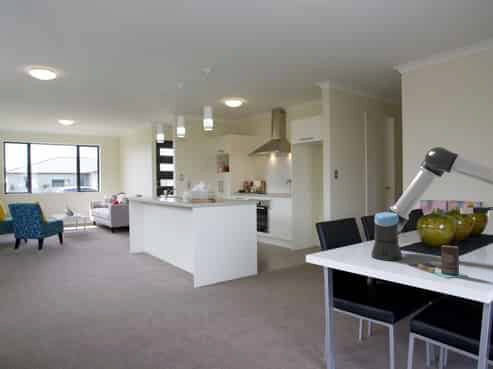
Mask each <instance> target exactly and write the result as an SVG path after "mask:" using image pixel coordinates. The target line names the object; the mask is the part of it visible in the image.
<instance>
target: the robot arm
mask: <svg viewBox="0 0 493 369" xmlns="http://www.w3.org/2000/svg"><path fill="white" fill-rule="evenodd" d="M419 167H420V170H419V171H418V172H417V174H416V175H415V177H414V178H413V180H412V181H411V182H410V184H409V185H408V186H407V188H406V189H405V191H404V192H403V193H402V195H401V196H400V198H399V199H398V200H397V202H395V204H394V205H392V206H389V208H388V209H387V210H386V211H385V212H377V213H376V214H375V215H374V221H373V222H374V243H373V247H372V249H371V258H373V259H376V260H381V261H401V260H402V259H403V252H402V250H401V247H400V245H399V233H400V232H401V231H402V230H403V228H404V226H405V225H406V223H407V222H408V221H409V219H410V217H409V215H410V213H411V212H412V210H413V209H414V208H415V206H416V205H417V204H418V203H419V202H420V200H421V199H422V197H423V196H424V195H425V193H426V192H427V190H429V188H430V187H431V185H432V184H433V183H434V182H435V180H436V179H441V177H442V176H443V175H444V174H445V173H449V174H452V173H455V174H458V175H461V176H463V177H467V178H470V179H471V180H472V179H473V180H475V181H478V182H481V183H484V184H486V185H489V186H493V167H491V166H489V165H486V164H483V163H482V164H481V163H480V162H479V163H478V162H476V161H472V160H469V159H467V158H465V157H461V156H460V154H459V153H455V152H452V151H450V150H448V149H447V148H445V147H441V146H436V147H432V148H431V149H428V151H427V152H426V154H425V155H424V159H423V160H422V162H421V164H420V165H419ZM460 214H461V215H466V214H469V215H473V214H487V217H488V218H493V206H488V207H487V206H486V207H485V206H484V207H479V206H477V207H475V206H474V207H473V206H468V207H460Z"/></svg>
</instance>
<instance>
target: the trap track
mask: <svg viewBox="0 0 493 369" xmlns="http://www.w3.org/2000/svg"><path fill="white" fill-rule="evenodd" d="M408 266H409V267H413V268H415V269H419V270H421V271H424V272H427V273H430V274H433V273H435V271H436V269H435V268H438V269H440V270H442V263H440V262H435V264H433V263H429V262H422V263H413V264H412V263H411V264H408Z"/></svg>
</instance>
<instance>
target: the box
mask: <svg viewBox="0 0 493 369" xmlns="http://www.w3.org/2000/svg"><path fill="white" fill-rule="evenodd" d="M459 249H460V247H459V246H454V245H445V244H444V245H442V246H441V247H440V250H441V251H440V253H441V254H440V255H441V258H440V259H441V264H442V269H441V272H442V274H449V275H455V276H457V275H458V274H459V273H460V253H459V252H460V250H459Z"/></svg>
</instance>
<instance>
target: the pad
mask: <svg viewBox="0 0 493 369" xmlns="http://www.w3.org/2000/svg"><path fill="white" fill-rule="evenodd" d="M432 274H433V275H436V276H438V277H442V278H444V279H453V278H463V277H469V275H468V274H465V273H461V272H459V274H458V275H457V276H455V275H449V274H442V271H440V272H439V271H436V272H435V273H432Z"/></svg>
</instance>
